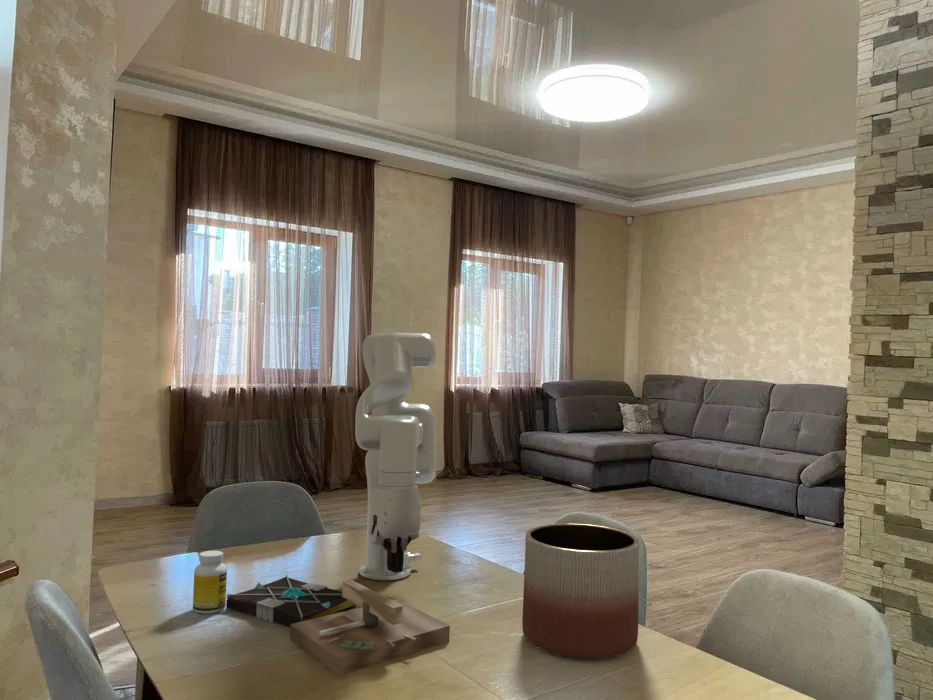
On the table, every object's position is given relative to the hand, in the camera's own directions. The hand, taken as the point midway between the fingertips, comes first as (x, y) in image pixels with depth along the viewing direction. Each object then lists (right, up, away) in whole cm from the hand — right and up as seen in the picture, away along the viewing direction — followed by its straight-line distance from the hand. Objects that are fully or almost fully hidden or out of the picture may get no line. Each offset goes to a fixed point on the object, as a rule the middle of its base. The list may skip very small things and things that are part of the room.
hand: (395, 570), depth 144 cm
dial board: (-4, -10, -9) cm, 15 cm away
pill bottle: (-39, -10, +4) cm, 41 cm away
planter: (+36, -12, -6) cm, 39 cm away
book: (-22, -11, +6) cm, 25 cm away
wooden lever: (-7, -7, -12) cm, 16 cm away
